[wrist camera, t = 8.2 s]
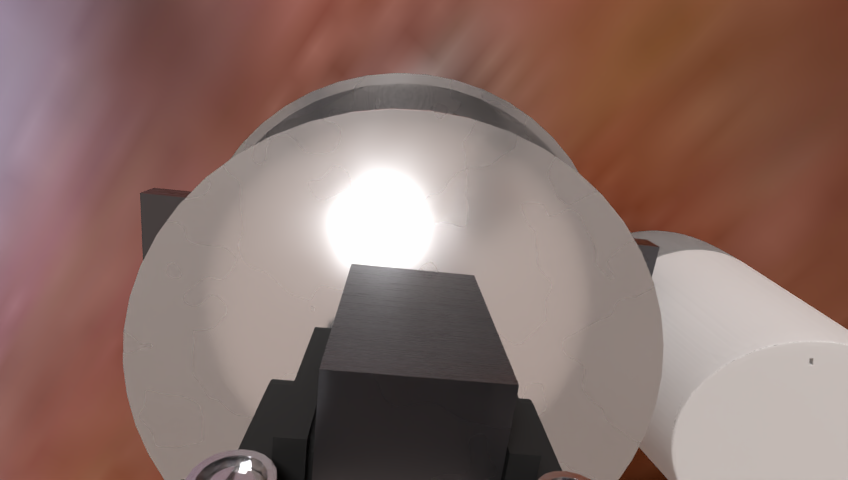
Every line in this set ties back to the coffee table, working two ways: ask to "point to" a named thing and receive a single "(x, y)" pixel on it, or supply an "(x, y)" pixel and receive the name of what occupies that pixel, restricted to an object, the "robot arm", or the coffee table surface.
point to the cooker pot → (373, 96)
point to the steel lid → (397, 303)
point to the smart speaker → (743, 373)
